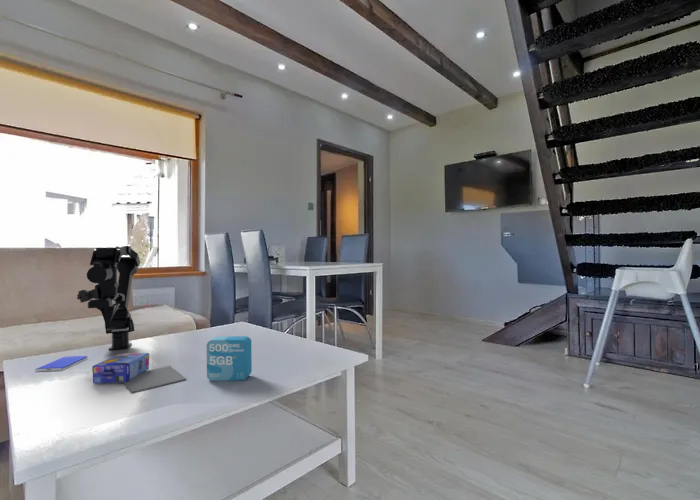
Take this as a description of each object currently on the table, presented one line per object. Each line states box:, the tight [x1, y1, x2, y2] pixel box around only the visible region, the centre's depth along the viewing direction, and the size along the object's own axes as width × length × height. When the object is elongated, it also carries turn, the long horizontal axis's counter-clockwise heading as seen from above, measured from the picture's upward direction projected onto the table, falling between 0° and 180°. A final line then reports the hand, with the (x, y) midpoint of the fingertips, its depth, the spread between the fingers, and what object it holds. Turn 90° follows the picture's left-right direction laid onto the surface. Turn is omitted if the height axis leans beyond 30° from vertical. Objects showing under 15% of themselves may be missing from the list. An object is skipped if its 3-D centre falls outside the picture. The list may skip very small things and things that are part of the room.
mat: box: [123, 365, 187, 394], centre depth 105 cm, size 16×14×1 cm
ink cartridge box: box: [91, 352, 150, 384], centre depth 105 cm, size 10×6×14 cm
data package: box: [206, 335, 253, 382], centre depth 105 cm, size 12×4×12 cm, turn 90°
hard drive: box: [34, 355, 89, 372], centre depth 119 cm, size 2×8×12 cm
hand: (107, 324), depth 126 cm, fingers closed
